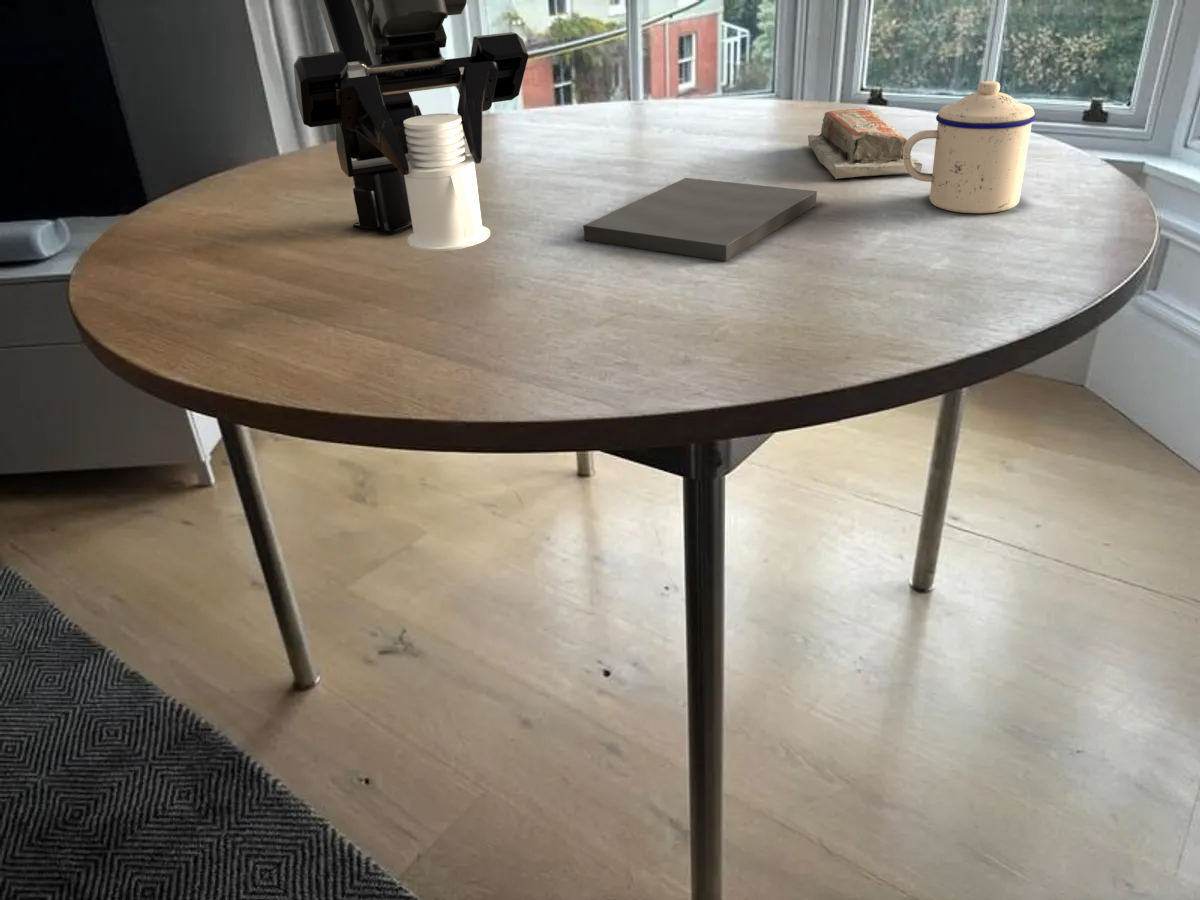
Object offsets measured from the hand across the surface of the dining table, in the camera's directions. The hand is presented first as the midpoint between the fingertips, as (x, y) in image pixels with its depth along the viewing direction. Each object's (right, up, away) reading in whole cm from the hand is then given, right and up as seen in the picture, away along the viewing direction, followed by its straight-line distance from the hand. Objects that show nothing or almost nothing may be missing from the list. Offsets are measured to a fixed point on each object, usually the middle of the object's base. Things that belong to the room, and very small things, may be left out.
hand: (442, 166), depth 75 cm
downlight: (0, -5, +5) cm, 7 cm away
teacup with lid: (+50, +2, +21) cm, 54 cm away
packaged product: (+45, +12, +39) cm, 61 cm away
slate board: (+23, +1, +21) cm, 31 cm away
